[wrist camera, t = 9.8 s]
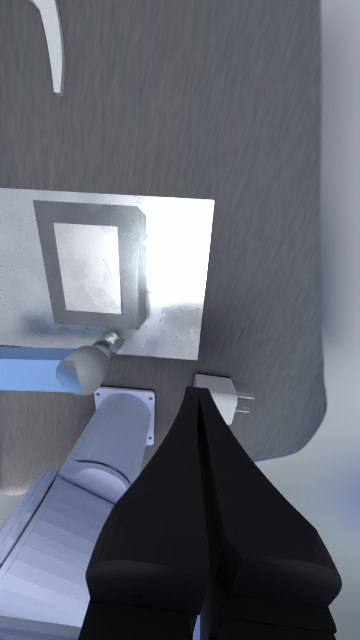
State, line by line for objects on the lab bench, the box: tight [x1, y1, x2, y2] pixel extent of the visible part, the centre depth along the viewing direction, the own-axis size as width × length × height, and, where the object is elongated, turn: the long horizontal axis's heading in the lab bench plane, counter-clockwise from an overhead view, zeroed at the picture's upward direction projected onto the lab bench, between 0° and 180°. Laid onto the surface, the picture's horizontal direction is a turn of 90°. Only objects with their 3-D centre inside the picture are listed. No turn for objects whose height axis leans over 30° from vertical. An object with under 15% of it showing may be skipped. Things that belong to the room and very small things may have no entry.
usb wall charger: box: [193, 374, 255, 425], centre depth 21 cm, size 4×7×4 cm, turn 83°
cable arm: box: [0, 346, 111, 395], centre depth 16 cm, size 17×4×2 cm, turn 90°
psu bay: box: [0, 188, 214, 360], centre depth 17 cm, size 16×24×5 cm, turn 87°
